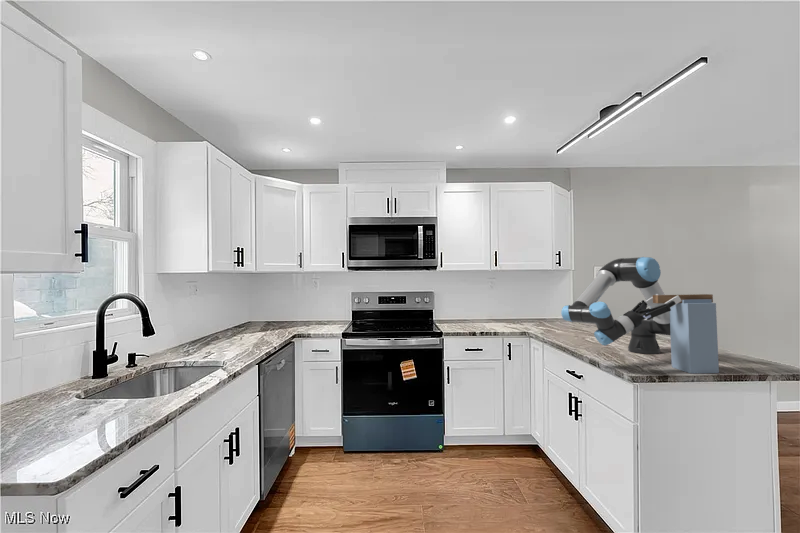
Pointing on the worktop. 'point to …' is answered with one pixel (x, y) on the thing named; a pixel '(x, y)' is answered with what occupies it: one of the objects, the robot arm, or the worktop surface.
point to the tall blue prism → (694, 336)
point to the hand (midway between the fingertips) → (669, 297)
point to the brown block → (683, 297)
